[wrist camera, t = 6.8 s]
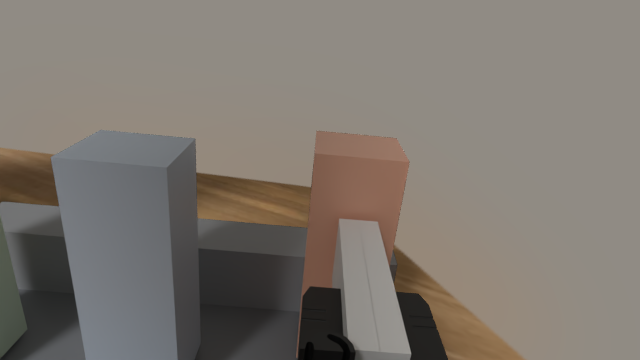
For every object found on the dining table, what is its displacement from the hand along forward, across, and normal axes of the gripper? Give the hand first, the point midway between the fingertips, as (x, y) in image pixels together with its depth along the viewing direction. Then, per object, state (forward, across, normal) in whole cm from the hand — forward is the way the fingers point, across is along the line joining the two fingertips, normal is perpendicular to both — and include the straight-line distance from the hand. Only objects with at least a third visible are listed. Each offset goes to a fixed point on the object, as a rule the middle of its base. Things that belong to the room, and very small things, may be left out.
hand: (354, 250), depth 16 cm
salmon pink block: (+2, 0, -6) cm, 7 cm away
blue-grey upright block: (-1, -8, -6) cm, 10 cm away
